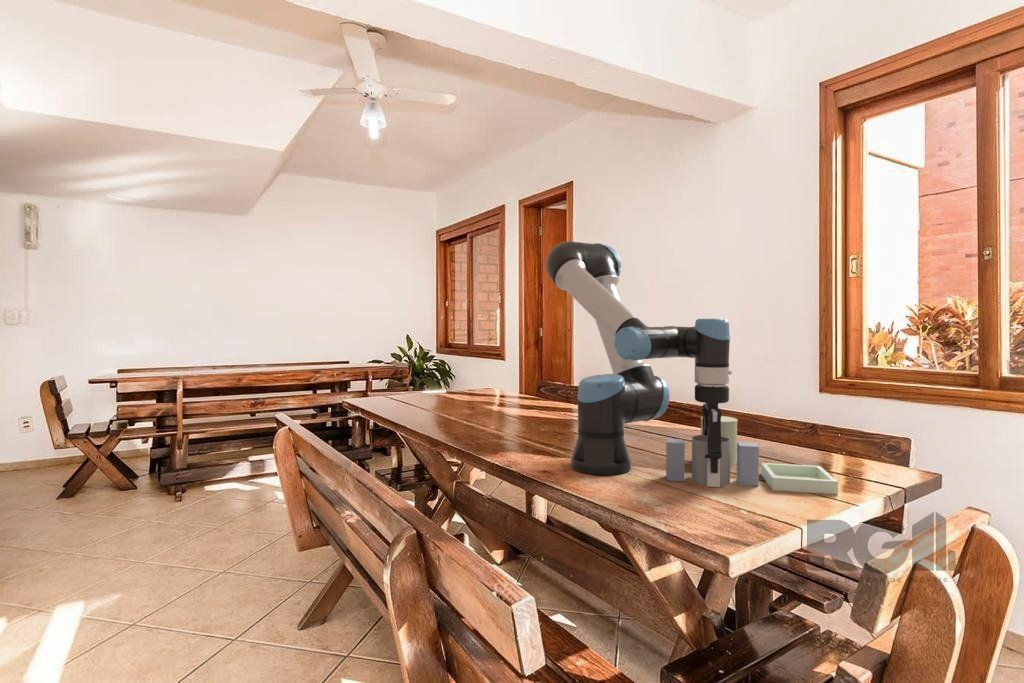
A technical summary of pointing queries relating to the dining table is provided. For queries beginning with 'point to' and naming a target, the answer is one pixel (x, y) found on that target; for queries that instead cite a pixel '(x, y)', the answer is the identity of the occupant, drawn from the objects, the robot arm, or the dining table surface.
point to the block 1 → (675, 459)
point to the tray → (799, 478)
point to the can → (729, 435)
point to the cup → (701, 462)
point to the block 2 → (747, 463)
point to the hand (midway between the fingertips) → (710, 479)
